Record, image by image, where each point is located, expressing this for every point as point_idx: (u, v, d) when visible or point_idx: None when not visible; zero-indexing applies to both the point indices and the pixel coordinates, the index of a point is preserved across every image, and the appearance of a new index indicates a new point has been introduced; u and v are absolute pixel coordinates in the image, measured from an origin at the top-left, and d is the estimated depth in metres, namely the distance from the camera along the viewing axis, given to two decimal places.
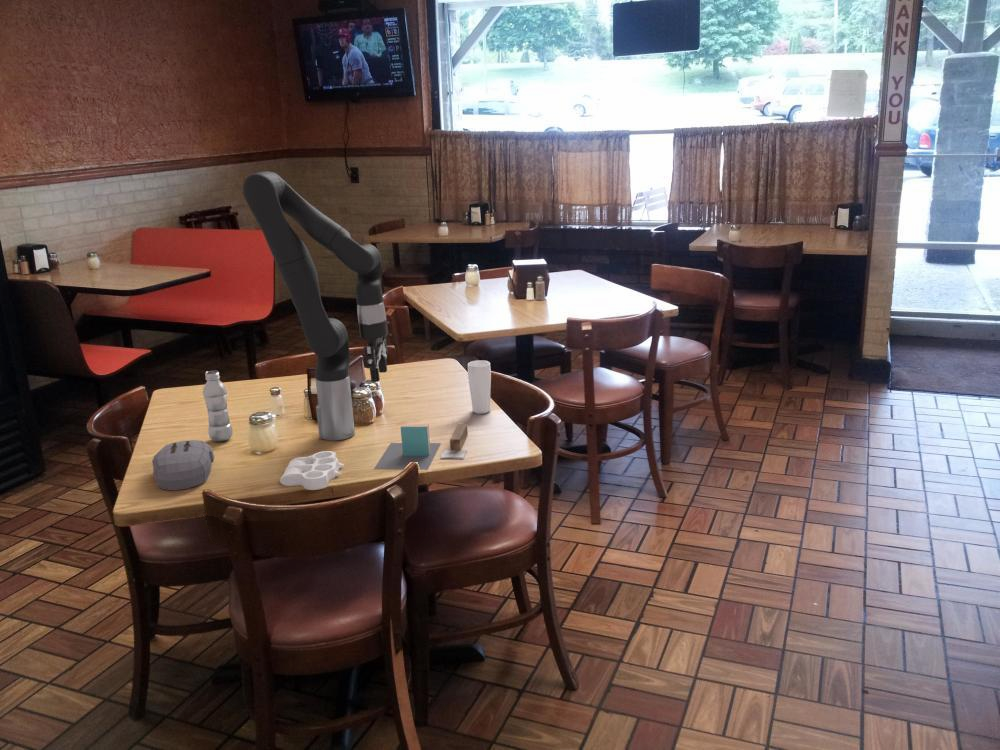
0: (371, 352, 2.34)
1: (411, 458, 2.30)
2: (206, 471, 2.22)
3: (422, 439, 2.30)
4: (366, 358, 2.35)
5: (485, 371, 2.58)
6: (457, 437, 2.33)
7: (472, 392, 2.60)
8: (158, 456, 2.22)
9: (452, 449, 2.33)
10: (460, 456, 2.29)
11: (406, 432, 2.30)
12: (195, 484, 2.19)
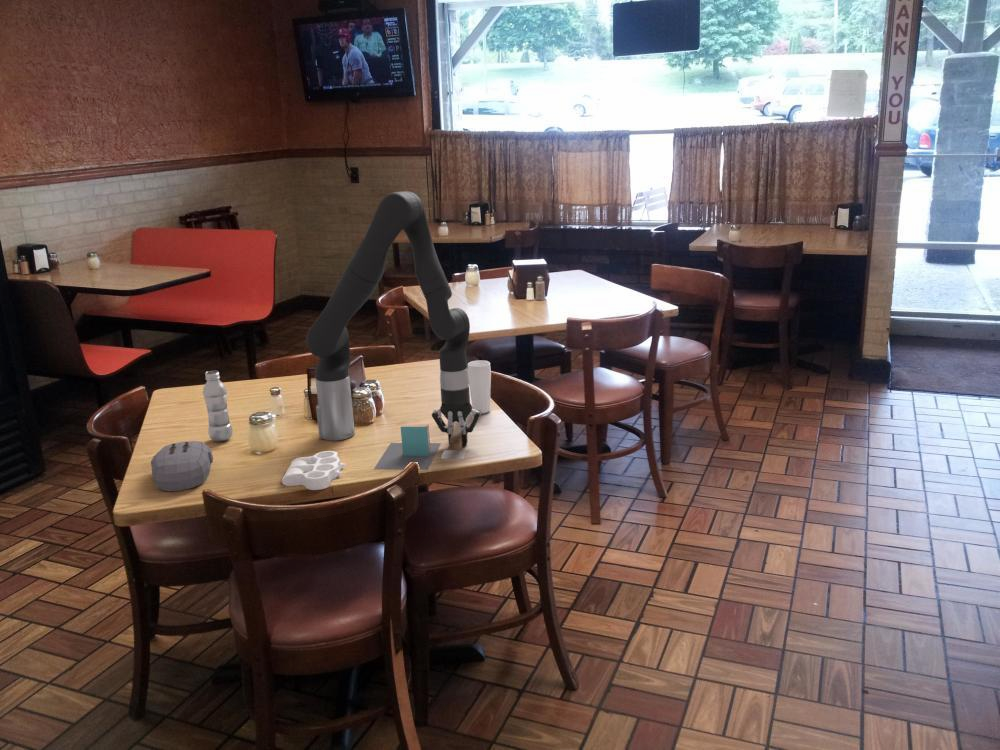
0: None
1: (411, 458, 2.30)
2: (205, 472, 2.21)
3: (422, 439, 2.30)
4: (475, 423, 2.34)
5: (485, 371, 2.58)
6: (457, 437, 2.33)
7: (472, 392, 2.60)
8: (157, 457, 2.22)
9: (452, 449, 2.33)
10: (460, 457, 2.29)
11: (406, 432, 2.30)
12: (193, 485, 2.19)
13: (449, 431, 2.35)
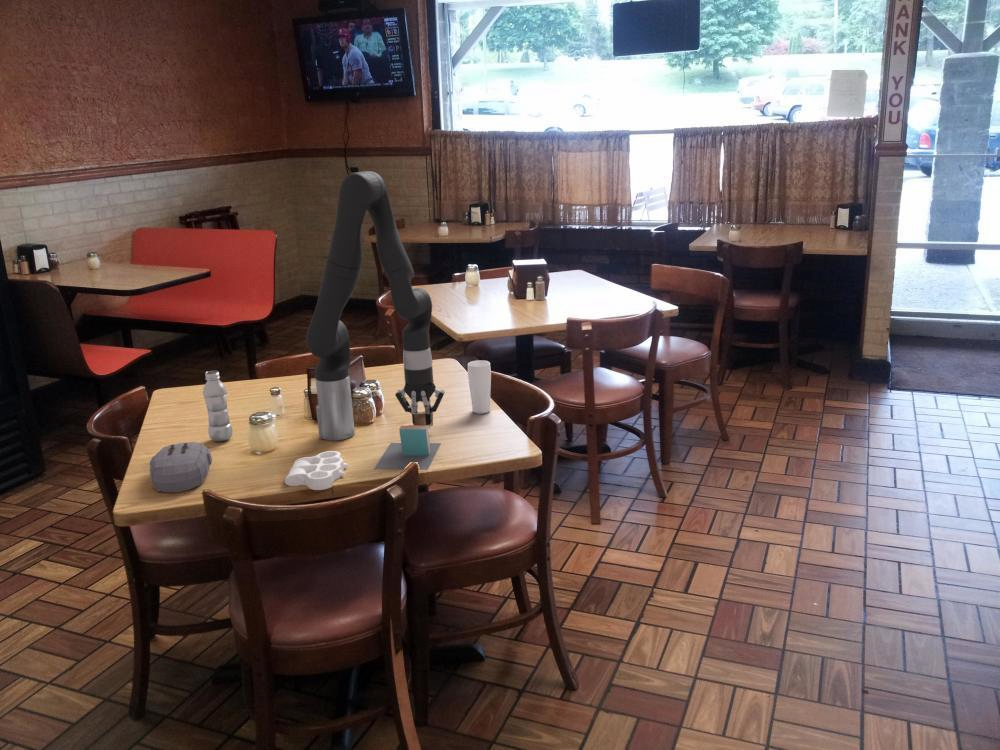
0: (442, 396, 2.37)
1: (411, 458, 2.30)
2: (203, 474, 2.20)
3: (421, 441, 2.29)
4: (439, 403, 2.36)
5: (485, 371, 2.58)
6: (422, 413, 2.36)
7: (472, 392, 2.60)
8: (156, 458, 2.21)
9: (416, 424, 2.35)
10: None
11: (405, 434, 2.29)
12: (191, 487, 2.18)
13: (413, 410, 2.37)
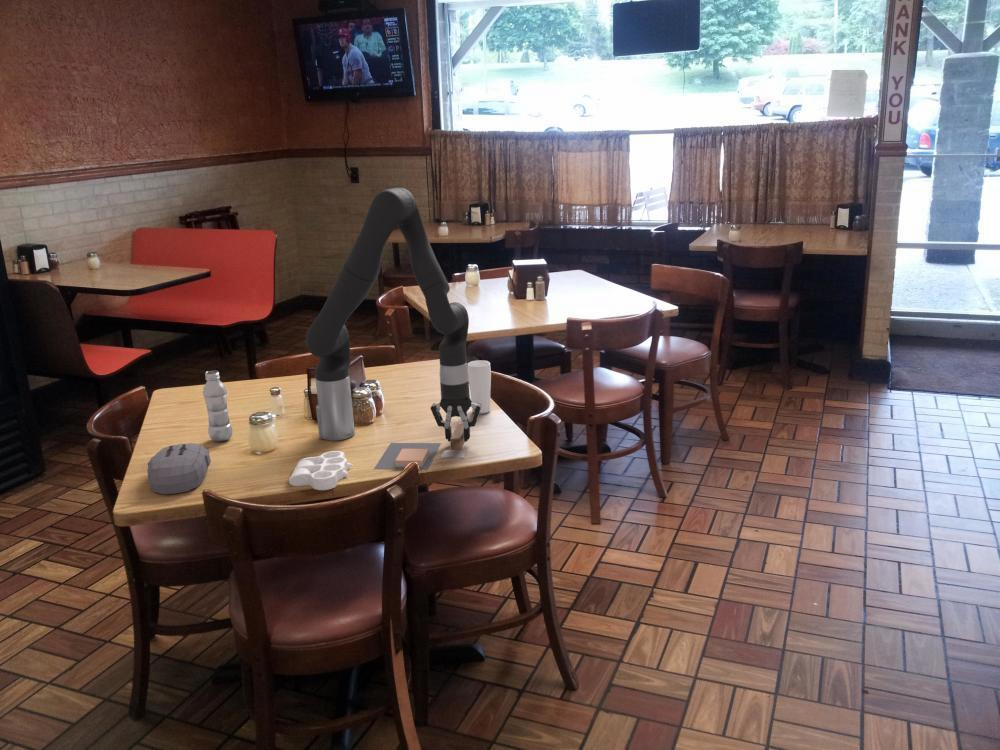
0: None
1: None
2: (200, 476, 2.19)
3: None
4: (477, 417, 2.33)
5: (485, 371, 2.58)
6: (457, 437, 2.34)
7: (472, 392, 2.60)
8: (153, 459, 2.20)
9: (452, 449, 2.33)
10: (460, 456, 2.29)
11: None
12: (188, 489, 2.17)
13: (446, 425, 2.35)
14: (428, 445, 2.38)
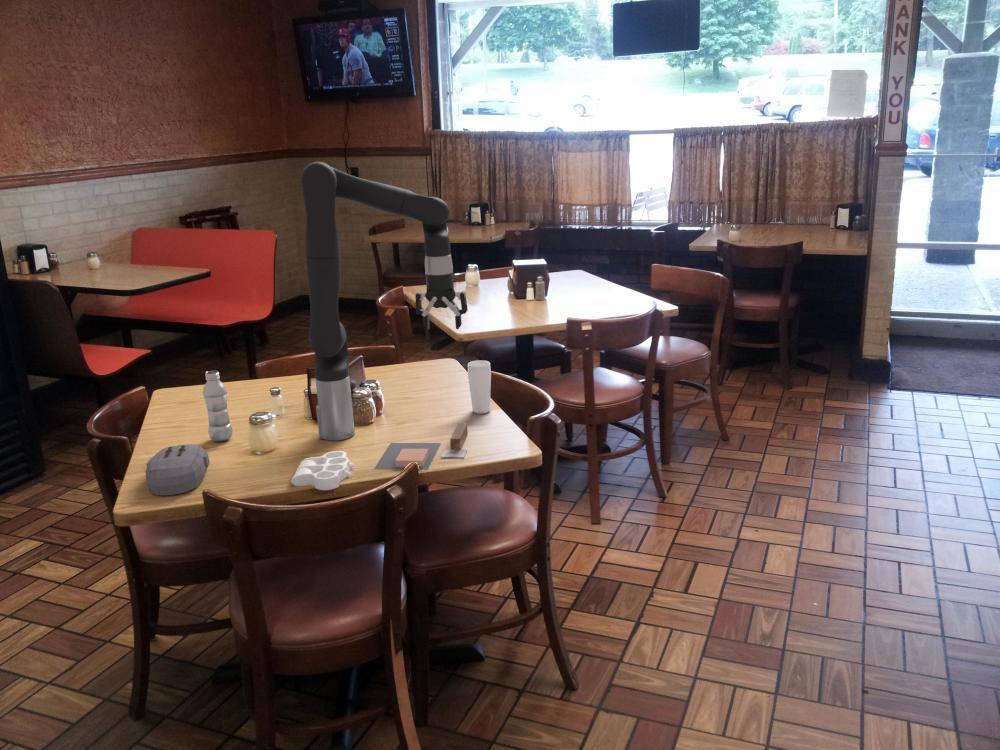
0: (465, 296, 2.45)
1: None
2: (198, 477, 2.18)
3: None
4: (465, 303, 2.44)
5: (485, 371, 2.58)
6: (457, 437, 2.34)
7: (472, 392, 2.60)
8: (152, 460, 2.20)
9: (452, 448, 2.33)
10: (460, 455, 2.29)
11: None
12: (185, 490, 2.16)
13: (424, 313, 2.46)
14: (428, 445, 2.38)
